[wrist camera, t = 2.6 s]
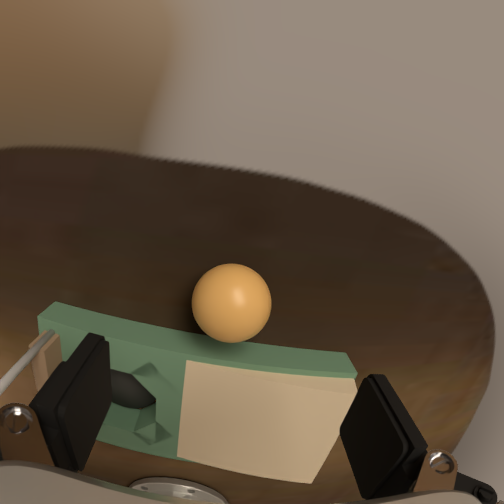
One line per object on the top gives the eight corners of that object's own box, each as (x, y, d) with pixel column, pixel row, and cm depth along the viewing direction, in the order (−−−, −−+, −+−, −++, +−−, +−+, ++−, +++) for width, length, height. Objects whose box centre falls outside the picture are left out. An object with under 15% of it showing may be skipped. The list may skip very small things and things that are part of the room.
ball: (280, 297, 23) (292, 329, 18) (223, 332, 23) (221, 371, 18) (240, 240, 22) (242, 260, 17) (182, 280, 22) (168, 309, 17)
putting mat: (345, 352, 24) (419, 485, 11) (305, 448, 27) (333, 565, 13) (44, 298, 22) (-64, 392, 8) (59, 404, 25) (1, 503, 11)
